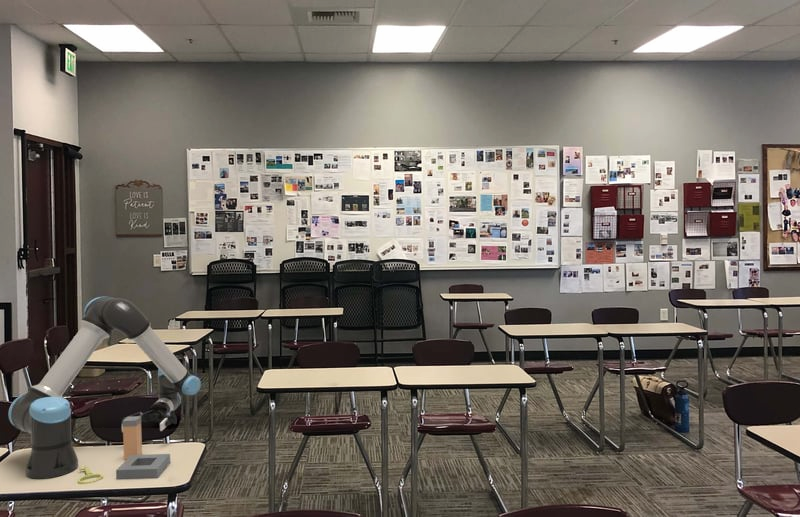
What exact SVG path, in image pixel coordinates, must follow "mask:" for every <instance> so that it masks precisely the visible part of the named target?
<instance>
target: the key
mask: <svg viewBox="0 0 800 517" xmlns="http://www.w3.org/2000/svg"><path fill="white" fill-rule="evenodd" d="M78 469H79V471H84V473H85V475H83V476H81V477H79V478H78V479H77V484H79V485H86V484H87V485H88V484H92V483H96V482H99V481H101V480H103V478H104V476H103V474H102V473H92V472H90V468H89V466H88V465H84V466H82V467H79V468H78ZM94 478H96V479H94ZM89 479H93V480H89ZM85 480H88V481H85Z"/></svg>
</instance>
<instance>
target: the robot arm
mask: <svg viewBox="0 0 800 517" xmlns="http://www.w3.org/2000/svg"><path fill="white" fill-rule="evenodd" d="M83 311H84V312H83V313H84V315H83V318H82V319H81V320H80V329H79V330H78V332H77V333H76V334H75V336H74V337H73V338H72V340H70V342H69V343H68V345H66V348H65V349H64V350H63V352H62V353H61V354H60V356H59V357H58V358H57V360H56V361H55V362H54V364H52V366H51V367H50V369H49V370H48V372H47V373H46V374H45V375H44V376H43V378H42V380H41V381H40V382H39V383H38V384H35V385H31V386H30V388H29V389H28V390H27V392H26V393H25V394H23V395H21V396H18V397H17V398H15V399H14V400H13V401H12V403H11V404H10V407H9V409H8V420H9V422H10V424H11V425H12V426H13V427H15V429H17V430H19V431H22V432H25V433H27V434H29V435H30V441H31V442H30V443H31V451H30V454H29V458H28V462H27V464H26V469H25V470H26V471H25V473H26V477H27V478H30V479H41V480H42V479H51V478H56V477H61V476H63V475H67V474H68V473H72V472H73V471H75V470H76V469H77V468H78V467H79V458H78V455H77V454H76V452H75V449H74V447H73V444H72V415H71V414H72V409H71V404H70V402H69V400H67V399H66V398H64V397H63V395H64V393H65V392H66V390H67V389H68V388H69V386H70V385H71V384H72V383H73V381H74V380H75V378H76V377H77V375H78V374H79V372H80V371H82V369H83V367H84V366H85V364H86V363H87V362H88V360H89V359H90V358H91V356H92V355H93V354H94V353H95V352H96V350H97V349H98V346H99V345H100V344H101V343H102V341H103V340H105V339H109V338H110V337H111V336H112V334H113V333H114V332H115V331H118V332H120V333H121V334H123V335H124V336H125V337H126V338H127V339H128V340H132V341H133V342H134V343H135V344H136V345H137V346H138V347H139V348H140V349H141V350H142V352H143V353H144V354H145V355H146V357H148V358H149V359H150V360H151V362H152V363H153V364H154V365H155V366H156V368H158V370H157V384H158V400H156V402H154V403H153V404H152V405H151V406H150V407H149V409H148V411H146V412H142V411H140V410H139V411H138V412H136V413H133V414H130V415H128V416H124V417H122V418H121V433H123V423H122V421H123V420H124V419H125V418H127V417H134V416H141V423H147V422H153V423H159V431H160V432H163V430H165V429H166V428H167V427H169V426H170V425H172V424H173V425H176V424H177V423H178V420H177V419H178V417H177V416H176V414H175V411H176V410H177V409H178V408H179V406H180V405H181V402H182V398H181V396H180V394H183V395H187V396H188V395H189V396H194V395H196V394H197V393H198V392H199V391H200V389H201V386H202V383H201V379H200V378H199V377H197V376H196V375H192V374H191V373H190V372H189V371H188V370H187V368H186V367H185V366H184V365H183V364H182V363H181V361H180V360H179V358H177V356H176V355H175V354H174V353H173V352H172V350H170V348H169V347H168V346H167V345H166V343H165V342H164V341H163V340H162V338H160V336H159V335H158V334H157V332H155V331H154V328H152V327H151V322H150V320H149V319H148V318H147V316H146V315H145V314H144V313H143V311H141V310H140V309H139V308H138V307H137V306H136V305H135V304H134V303H133V302H131V301H130V300H128V299H125V298H117V297H112V296H98V297H95V298H93V299H91V300H90V301H89V302H88V303H87V304H86V305H85V308H84V310H83ZM179 393H180V394H179Z"/></svg>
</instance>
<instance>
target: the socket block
mask: <svg viewBox="0 0 800 517" xmlns="http://www.w3.org/2000/svg"><path fill="white" fill-rule="evenodd" d="M168 464H169V465H170V464H171V454H170V453H160V454H159V453H154V454H153V453H151V454H142V455H131V456H130V457H129V458H128V459H127V460H124V462H123V463H122V464H120V466H118V468H117V469H116V470H115V473H116V474H115V475H116V476H115V478H116V480H129V479H130V480H131V479H135V480H136V479H159V477H160V476H161V474H162V473H164V471H165V470H166V468H167V467H168V466H169V465H168ZM167 465H168V466H167Z"/></svg>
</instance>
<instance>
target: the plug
mask: <svg viewBox="0 0 800 517" xmlns="http://www.w3.org/2000/svg"><path fill="white" fill-rule="evenodd" d="M126 417H127V416H126ZM124 418H125V417H124ZM122 423H123V432H122V437H123V439H122V440H123V461H126V460H127V459H128V458H129V457H130V456H131V455H143V444H142V443H143V441H142V440H143V439H142V438H143V437H142V422H141V416H134V417H127V418H125V419H124V420H123V421H122V420H121V424H122Z"/></svg>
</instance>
